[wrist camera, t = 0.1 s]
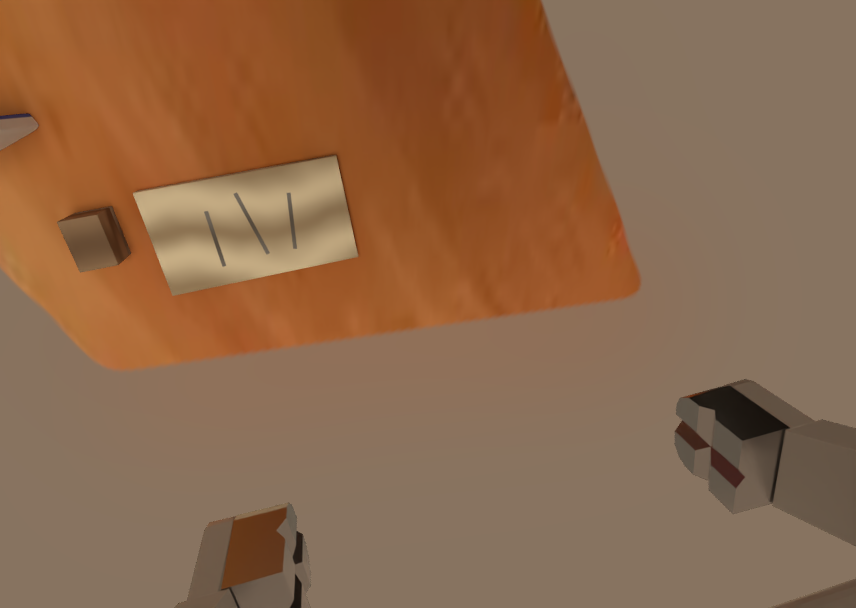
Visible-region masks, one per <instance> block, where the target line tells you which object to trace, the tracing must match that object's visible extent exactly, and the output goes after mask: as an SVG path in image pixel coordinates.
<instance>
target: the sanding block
mask: <svg viewBox="0 0 856 608" xmlns="http://www.w3.org/2000/svg"><path fill="white" fill-rule="evenodd" d="M57 224H58V226H59V228H60V230H61V232H62V234H63V237H64V239H65V241H66V243H67V245H68V247H69V249H70V252H71V254H72V256H73V258H74V260H75V262H76V265H77V267H78V269H79V271H80V272H85V271H90V270H96V269H101V268H106V267H111V266H116V265H119V264H120V263H121V262H122V261H123V260H124V259H126V258H127V257H128V256H129V255H130V254H131V252H130V249H129V247H128V244H127V242H126V239H125V237H124V234H123V232H122V230H121V227H120V225H119V222H118V220H117V217H116V215H115V213H114V210H113V208H112V206H110V207H105V208H99V209H94V210H88V211H83V212H78V213H74V214H72V215H70V216H68V217H66V218H64V219H62V220H60V221H58V222H57Z"/></svg>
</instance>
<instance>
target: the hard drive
mask: <svg viewBox="0 0 856 608" xmlns="http://www.w3.org/2000/svg"><path fill="white" fill-rule="evenodd" d="M38 126H39V125H38V123H37V122H36V121H35V120H34V118H33V117H32V116H31V115H30V114H27V113H26V114H16V115H5V116H0V151H1V150H2V149H4V148H6V147H8V146H9V145H11V144H13V143H14V142H16V141H18V140H20V139H21V138H23V137H25V136H26V135H28V134H30V133H32V132H33V131H35V130H36V129H37V128H38Z"/></svg>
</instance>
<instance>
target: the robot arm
mask: <svg viewBox="0 0 856 608" xmlns="http://www.w3.org/2000/svg"><path fill="white" fill-rule="evenodd" d="M676 415H677V416H678V417H679V418H680V419H681V420H682V421H681V423H680V424H679V426H678V427H677V429H676V430H675V446H676V449H677V452H678V455H679V457H680V459H681V460H682V462H683V464H684V465H685V466H686V468H687V469H688V470H689V471H690V472H691V473H692V474H693V475H695V476H698V477H700V478H703V479H705V480H708V489H709V491H710V492H711V493H712V494H713V495H714V496H715V497H716V498H717V499H718V500H719V501H720V502H721V503H722V504H723V505H724V506H725V507H726V508H727V509H728V510H729V511H730V512H731V513H732V514H735V513H739V512H743V511H747V510H750V509H754V508H757V507H761V506H765V505H769V504H773V506H774V507H776V508H778V509H780V510H782V511H784V512H786V513H788V514H790V515H792V516H794V517H797V518H798V519H801V520H803V521H805V522H807V523H809V524H811V525H813V526H815V527H817V528H819V529H821V530H823V531H825V532H828V533H829V534H831V535H833V536H836V537H838V538H840V539H842V540H844V541H846V542H848V543H850V544H852V545H854V546H856V428H853V427H849V426H845V425H841V424H838V423H834V422H830V421H826V420H818V421H814V420H812V419H811V418H810V417H808V416H806V415H805V414H803V413H802V412H800V411H799V410H797V409H796V408H794V407H793V406H791V405H790V404H788V403H787V402H785V401H783V400H782V399H780V398H779V397H777V396H775V395H774V394H773V393H771V392H770V391H768V390H767V389H765V388H763V387H762V386H760V385H759V384H757V383H756V382H754V381H751V380H747V379H744V380H740V381H737V382H734V383H730V384H726V385H724V386H722V387H718V388H714V389H710V390H706V391H703V392H699V393H695V394H692V395H688V396H685V397H681V398H680V399H679V401H678V403H677V407H676ZM296 528H297V516H296V514H295V511H294V509H293V506H292V504H290V503H285V504H281V505H277V506H273V507H269V508H265V509H261V510H256V511H252V512H248V513H244V514H240V515H237V516H235V517H231V518H226V519H222V520H218V521H213V522H210V523H209V524H208V525H207V527H206V528H205V530H204V534H203V538H202V542H201V546H200V550H199V554H198V558H197V562H196V566H195V570H194V574H193V578H192V582H191V586H190V590H189V594H188V598H187V601H184V602H181V603H178V604H177V605H176V606H175V608H311V607H310V605H309V602H308V599H307V596H306V592H307V591H308V589H309V588H310V586H311V571H310V563H309V555H308V551H307V546H306V542H305V539H304V536H303V534H302V533H300V532H298V531H296ZM770 608H856V579H853V580H850V581H847V582H844V583H841V584H838V585H835V586H832V587H829V588H826V589H823V590H820V591H817V592H814V593H811V594H809V595H805V596H803V597H799V598H796V599H794V600H790V601H788V602H785V603H782V604H779V605H776V606H773V607H770Z"/></svg>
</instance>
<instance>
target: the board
mask: <svg viewBox="0 0 856 608" xmlns="http://www.w3.org/2000/svg"><path fill="white" fill-rule="evenodd" d="M133 195H134V198H135V200H136V203H137V205H138V208H139V210H140V213H141V216H142V218H143V221H144V223H145V226H146V228H147V231H148V234H149V236H150V239H151V241H152V244H153V246H154V249H155V252H156V254H157V257H158V259H159V262H160V264H161V267H162V269H163V272H164V275H165V277H166V280H167V282H168V285H169V287H170V290H171V293H172V295H173V296H174V295H179V294H183V293H188V292H193V291H198V290H202V289H207V288H212V287H217V286H221V285H226V284H231V283H236V282H240V281H245V280H250V279H255V278H259V277H264V276H269V275H274V274H279V273H283V272H288V271H293V270H298V269H302V268H307V267H312V266H317V265H321V264H326V263H331V262H336V261H340V260H345V259H350V258H355V257H358V253H357V248H356V244H355V239H354V235H353V230H352V226H351V221H350V216H349V212H348V207H347V203H346V198H345V194H344V189H343V184H342V180H341V175H340V171H339V166H338V161H337V157H336V155H331V156H325V157H320V158H315V159H309V160H304V161H298V162H293V163H287V164H282V165H276V166H271V167H265V168H260V169H254V170H249V171H243V172H238V173H233V174H227V175H222V176H216V177H211V178H205V179H200V180H194V181H189V182H183V183H178V184H172V185H167V186H161V187H156V188H150V189H145V190H140V191H136V192H134V193H133Z"/></svg>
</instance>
